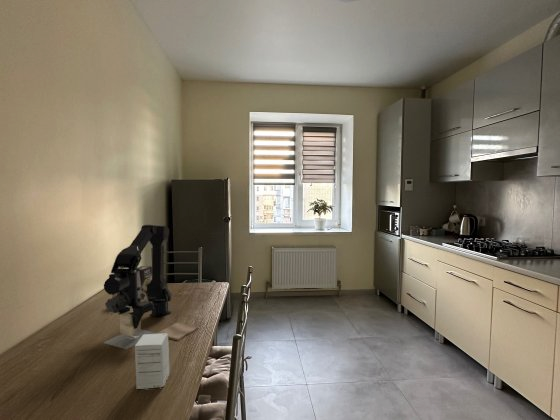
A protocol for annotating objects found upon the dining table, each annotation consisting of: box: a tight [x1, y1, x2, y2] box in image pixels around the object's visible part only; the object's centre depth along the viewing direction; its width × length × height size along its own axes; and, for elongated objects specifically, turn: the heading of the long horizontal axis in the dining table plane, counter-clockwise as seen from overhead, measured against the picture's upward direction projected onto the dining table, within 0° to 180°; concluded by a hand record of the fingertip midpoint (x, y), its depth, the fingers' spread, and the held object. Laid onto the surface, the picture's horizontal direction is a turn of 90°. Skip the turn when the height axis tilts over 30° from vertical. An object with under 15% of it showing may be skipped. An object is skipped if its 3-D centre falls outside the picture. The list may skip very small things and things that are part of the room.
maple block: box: [118, 309, 142, 336], centre depth 120 cm, size 5×5×7 cm
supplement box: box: [134, 333, 171, 390], centre depth 91 cm, size 7×7×13 cm
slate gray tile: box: [102, 328, 157, 350], centre depth 120 cm, size 14×12×1 cm
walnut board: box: [155, 322, 199, 341], centre depth 125 cm, size 11×11×1 cm
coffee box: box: [137, 265, 152, 303], centre depth 165 cm, size 9×6×16 cm
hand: (130, 327), depth 120 cm, fingers closed on maple block, 5 cm apart
